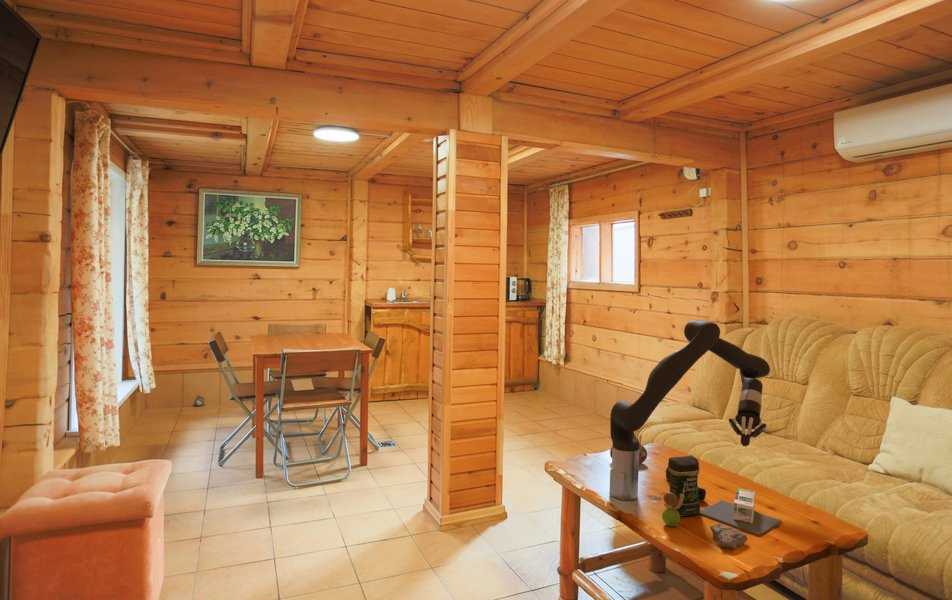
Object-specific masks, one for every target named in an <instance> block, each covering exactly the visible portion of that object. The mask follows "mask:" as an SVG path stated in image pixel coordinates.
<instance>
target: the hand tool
mask: <svg viewBox="0 0 952 600" xmlns="http://www.w3.org/2000/svg"><path fill="white" fill-rule="evenodd" d="M665 478H666V480H667V481H668V482H669V483H670V472H669V470H668V466H667V467H666V469H665ZM698 494H699V502H703V501H704V500H705V499H706V495H707V491H706V490H705V489H704V488H702V487H700V486H698Z"/></svg>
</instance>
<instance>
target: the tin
mask: <svg viewBox="0 0 952 600" xmlns="http://www.w3.org/2000/svg"><path fill="white" fill-rule="evenodd" d="M612 448H613V445H612V446H611V448H610V450H609V452H610V453H609V455H610V458H611V459H612ZM647 457H648V451H647V448H646V447H645V446H643V444H640V446H639V465H641V464H643V463H644V462H645V461H646V460H647Z"/></svg>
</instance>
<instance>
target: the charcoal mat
mask: <svg viewBox="0 0 952 600" xmlns="http://www.w3.org/2000/svg"><path fill="white" fill-rule="evenodd" d="M698 515H701V516H703V517H705V518H708V519H711V520H714V521H716V522H718V523H719V522H720V523H722V524H723V525H724V524H725V525H726V526H730V527H731V528H732V527H733V528H736V529H738V530H740V531H741V530H742V531H744V532H747V533H749V534H751V535H754V536H758V537H761V536H762V535H764V534H766V533H767V532H769V531H770V530H772V529H773V528H775V527H777V526H778V525H780V524H782V522H783V520H782V519H780V518H775V517H773V516H770V515H767V514H764V513H760V512H758V511H755V510H754V515H753V523H748V522H743V521H739V520H734V519H733V518H734V503H732V502H729V501H725V500H722V499H721V500H719V501H716V502H715V503H713V504H711V505H708V506H707V507H705V508H703V509H700V512H699V514H698Z"/></svg>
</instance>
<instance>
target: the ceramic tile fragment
mask: <svg viewBox="0 0 952 600" xmlns="http://www.w3.org/2000/svg"><path fill="white" fill-rule="evenodd" d="M709 529H710V531H711V532H712V535H713V537H714V541H715V544H716V546H717V547H721V548H724V549H731V550H734V551H736V550H738V549H740V547H741V546H742V545H744V544H745V543H746V542H747V540H748V536H747V535H746V534H745V533H744V532H741V530H740V531H739V530H737V529H734V528H732V527H729V526H728V525H726V524H725V525H724V524H723V523H722V524H721V523H716V524H713V525H710V527H709Z"/></svg>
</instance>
